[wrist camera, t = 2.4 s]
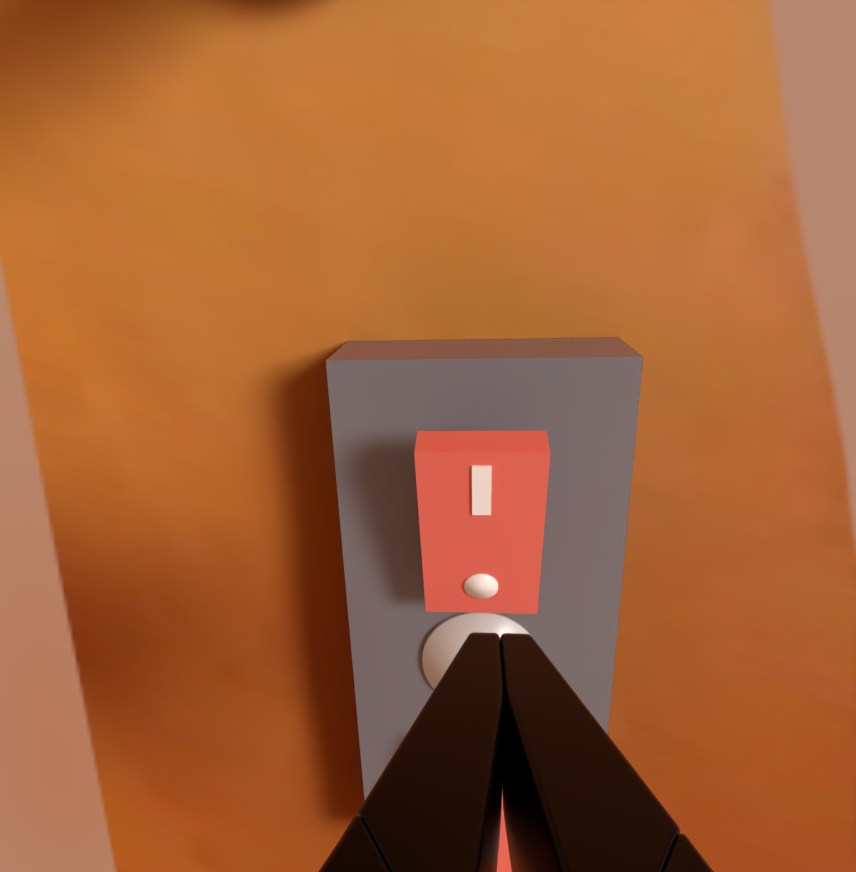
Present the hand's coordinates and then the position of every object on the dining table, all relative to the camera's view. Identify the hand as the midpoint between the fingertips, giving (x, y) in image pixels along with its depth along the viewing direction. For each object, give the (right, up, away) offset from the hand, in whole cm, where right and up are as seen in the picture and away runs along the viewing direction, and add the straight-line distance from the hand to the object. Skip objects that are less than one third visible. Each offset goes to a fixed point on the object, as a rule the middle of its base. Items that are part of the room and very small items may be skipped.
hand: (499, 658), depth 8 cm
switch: (+1, +1, +9) cm, 9 cm away
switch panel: (+1, -5, +15) cm, 16 cm away
